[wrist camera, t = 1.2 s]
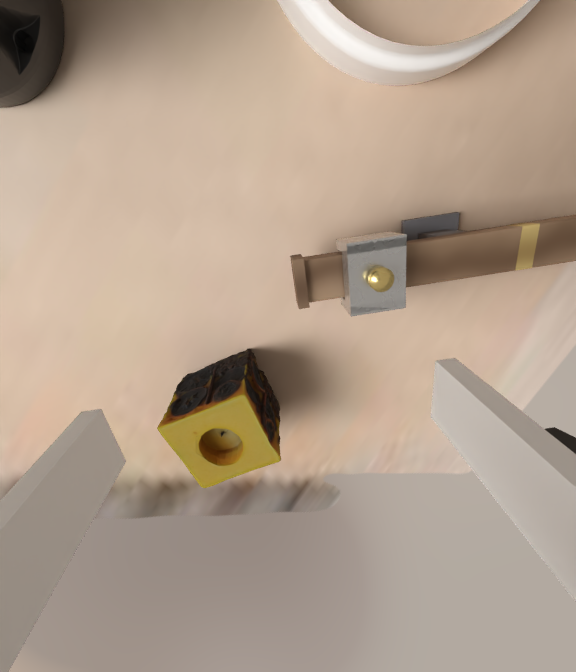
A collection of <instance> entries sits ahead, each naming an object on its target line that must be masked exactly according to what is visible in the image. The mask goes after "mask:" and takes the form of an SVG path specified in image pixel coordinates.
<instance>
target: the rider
mask: <svg viewBox="0 0 576 672" xmlns="http://www.w3.org/2000/svg"><path fill="white" fill-rule="evenodd" d="M336 242H337V249H338V250H339V251H341V252H342V262H343V276H344V291H345V297H341V304H342V306H343V307H344V308H345V309H346V311H347V312H348V313H349V314H350V316H357V315H363V314H370V313H376V312H383V311H389V310H395V309H402V308H406V247H407V234H402V233H395V232H389V231H388V232H381V233H375V234H368V235H362V236H356V237H349V238H343V239H336Z"/></svg>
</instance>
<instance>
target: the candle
mask: <svg viewBox="0 0 576 672" xmlns="http://www.w3.org/2000/svg"><path fill="white" fill-rule="evenodd" d="M279 411H280V407H279V403H278V401H277V399H276V398H275V395H274V394H273V390H272V389H271V386H270V385H269V383H268V380H267V378H266V376H265V375H264V372H262V371H260V370H259V369H258V367H257V363H256V359H255V356H254V354H253V352H252V350H251V349H247V350H246V351H245V352H240V353H238V354H237V355H232V356H230V357H228V358H226V359H223V360H220V361H218V362H216V363H215V364H211V365H209V366H207V367H205V368H204V369H201V370H199V371H197V372H195V373H192V374H187V375H186V376H185V377H184V378H183V379H182V381H181V382H180V383H179V384H178V386H177V388H176V391H175V392H174V395H173V399H172V401H171V403H170V405H169V407H168V410H167V412H166V413H165V414H164V417H163V419H162V421H161V422H160V424H159V426H158V428H157V429H158V431H159V432H160V433H161V435H162V436H163V437H164V439H165V440H166V441H167V442H168V444H169V445H170V446H171V448H172V449H173V450H174V451H175V452H176V454H177V455H178V456H179V457H180V459H181V460H182V461H183V463H184V464H185V465H186V467H187V468H188V470H189V471H190V473H191V474H192V475H193V476H194V478H195V479H196V480H197V482H198V483H199V484H200V486H201V487H203V488H207V487H210V486H213V485H216V484H218V483H220V482H223V481H225V480H227V479H230V478H233V477H236V476H238V475H241V474H244V473H247V472H249V471H252V470H255V469H258V468H261V467H264V466H267V465H270V464H273V463H276V462H279V461H280V460H281V457H280V446H279V444H280V436H279V424H280V416H279Z"/></svg>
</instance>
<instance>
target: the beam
mask: <svg viewBox="0 0 576 672" xmlns="http://www.w3.org/2000/svg"><path fill="white" fill-rule="evenodd" d="M458 223H459V212H455V213H448V214H442V215H435V216H429V217H423V218H416V219H410V220H403V221H402V234H407V247H406V287H411V286H418V285H424V284H431V283H437V282H443V281H450V280H456V279H463V278H469V277H475V276H482V275H488V274H495V273H501V272H507V271H514V270H515V271H516V270H522V269H528V268H533V267H539V266H546V265H552V264H559V263H565V262H571V261H576V215H570V216H564V217H558V218H551V219H545V220H538V221H532V222H526V223H518V224H511V225H506V226H500V227H494V228H487V229H481V230H474V231H459V230H458ZM290 257H291V264H292V271H293V279H294V286H295V293H296V300H297V304H298V307H299V309H302V308H309V302H315V301H322V300H328V299H335V298H341V297H345V291H344V276H343V262H342V252H341V251H340V252H334V253H327V254H321V255H314V256H308V257H302V255H301V254H298V255H292V256H290Z"/></svg>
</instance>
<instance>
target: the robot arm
mask: <svg viewBox="0 0 576 672" xmlns="http://www.w3.org/2000/svg"><path fill="white" fill-rule="evenodd" d="M63 42H64V17H63V8H62V2H61V0H0V107H11V106H16V105H19V104H22V103H25V102H27V101H29V100H31V99H33V98H34V97H35V96H37V95H38V94H39V93H40V92H42V91H43V90H44V89H45V87H46V86H47V85H48V84H49V82H50V81H51V79H52V78H53V76H54V74H55V72H56V70H57V67H58V65H59V62H60V58H61V54H62V49H63ZM431 418H432V419H433V420H434V422H435V423H436V424H437V426H438V427H439V428H440V429H441V431H442V432H443V433H444V435H445V436H446V437H447V438H448V440H449V441H450V442H451V443H452V445H453V446H454V447H455V449H456V450H457V451H458V452H459V454H460V455H461V456H462V457H463V459H464V460H465V461H466V463H467V464H468V465H469V466H470V468H471V469H472V470H473V472H474V473H475V474H476V475H477V477H478V478H479V479H480V480H481V482H482V483H483V484H484V485H485V487H486V488H487V489H488V491H489V492H490V493H491V494H492V496H493V497H494V498H495V499H496V501H497V502H498V503H499V505H500V506H501V507H502V508H503V510H504V511H505V512H506V514H507V515H508V516H509V517H510V519H511V520H512V521H513V523H514V524H515V525H516V526H517V528H518V529H519V530H520V531H521V533H522V534H523V535H524V537H525V538H526V539H527V540H528V542H529V543H530V544H531V545H532V547H533V548H534V549H535V551H536V552H537V553H538V554H539V556H540V557H541V558H542V559H543V561H544V562H545V563H546V564H547V566H548V567H549V568H550V570H551V571H552V572H553V573H554V575H555V576H556V577H557V578H558V580H559V581H560V582H561V584H562V585H563V586H564V588H565V589H566V590H567V591H568V593H569V594H570V595H571V597H572V598H573V599H574V600H575V602H576V438H575V437H573V436H571V435H569V434H567V433H565V432H563V431H561V430H559V429H557V428H555V427H554V428H547V429H543V428H542V427H541V426H539V425H538V424H537V423H536V422H535V421H533V420H532V419H531V418H529V417H528V416H527V415H526V414H525V413H523V412H522V411H521V410H520V409H518V408H517V407H516V406H515V405H513V404H512V403H511V402H510V401H508V400H507V399H506V398H505V397H503V396H502V395H501V394H500V393H498V392H497V391H496V390H495V389H493V388H492V387H491V386H490V385H488V384H487V383H486V382H484V381H483V380H482V379H481V378H479V377H478V376H477V375H476V374H474V373H473V372H472V371H471V370H469V369H468V368H467V367H466V366H464V365H463V364H462V363H461V362H459V361H458V360H457V359H456V358H451V359H444V360H437V361H436V362H435V373H434V385H433V396H432V407H431ZM125 462H126V460H125V458H124V456H123V454H122V452H121V449H120V447H119V445H118V443H117V441H116V439H115V437H114V435H113V433H112V431H111V428H110V426H109V424H108V422H107V420H106V418H105V416H104V414H103V412H102V409H97V410H91V411H84V412H81V413H80V414H79V415H78V416H77V417H76V418H75V420H74V421H73V422H72V423H71V424H70V425H69V426H68V427H67V428H66V429H65V430H64V432H63V433H62V434H61V435H60V436H59V437H58V438H57V439H56V440H55V441H54V442H53V444H52V445H51V446H50V447H49V448H48V449H47V450H46V451H45V452H44V453H43V455H42V456H41V457H40V458H39V459H38V460H37V461H36V462H35V463H34V464H33V465H32V467H31V468H30V469H29V470H28V471H27V472H26V473H25V474H24V475H23V476H22V477H21V479H20V480H19V481H18V482H17V483H16V484H15V485H14V486H13V487H12V488H11V490H10V491H9V492H8V493H7V494H6V495H5V496H4V497H3V498H2V499H1V500H0V672H9V670H10V668H11V666H12V665H13V663H14V661H15V659H16V657H17V655H18V654H19V652H20V650H21V648H22V646H23V645H24V643H25V641H26V639H27V637H28V636H29V634H30V632H31V631H32V629H33V627H34V625H35V623H36V621H37V620H38V618H39V616H40V614H41V613H42V611H43V609H44V607H45V605H46V604H47V602H48V600H49V598H50V596H51V595H52V593H53V591H54V589H55V588H56V586H57V584H58V582H59V580H60V579H61V577H62V575H63V573H64V571H65V570H66V568H67V566H68V564H69V562H70V561H71V559H72V557H73V555H74V554H75V552H76V550H77V548H78V546H79V545H80V543H81V541H82V539H83V537H84V536H85V534H86V532H87V530H88V529H89V527H90V525H91V523H92V521H93V520H94V518H95V516H96V514H97V512H98V511H99V509H100V507H101V505H102V504H103V502H104V500H105V498H106V496H107V495H108V493H109V491H110V489H111V487H112V486H113V484H114V482H115V480H116V478H117V477H118V475H119V473H120V471H121V470H122V468H123V466H124V464H125Z"/></svg>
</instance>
